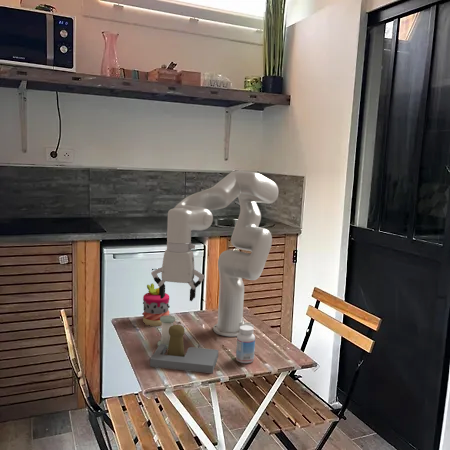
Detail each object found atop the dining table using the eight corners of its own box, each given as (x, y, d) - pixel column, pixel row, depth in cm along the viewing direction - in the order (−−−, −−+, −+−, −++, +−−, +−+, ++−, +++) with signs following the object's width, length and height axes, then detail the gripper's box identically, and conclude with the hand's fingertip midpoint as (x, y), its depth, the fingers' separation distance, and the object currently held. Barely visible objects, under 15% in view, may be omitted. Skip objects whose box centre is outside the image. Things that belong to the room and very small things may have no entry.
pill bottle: (255, 357, 155) (257, 326, 153) (250, 365, 149) (253, 332, 147) (238, 354, 157) (240, 323, 155) (233, 361, 151) (235, 329, 149)
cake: (171, 318, 188) (172, 282, 185) (165, 327, 177) (166, 290, 175) (146, 316, 189) (147, 280, 186) (139, 325, 178) (139, 288, 176)
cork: (181, 362, 148) (182, 330, 147) (163, 360, 149) (164, 328, 148) (187, 355, 154) (188, 323, 152) (169, 352, 155) (171, 321, 154)
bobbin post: (177, 342, 164) (178, 315, 162) (173, 349, 158) (174, 322, 156) (160, 340, 165) (161, 314, 163) (155, 348, 158) (156, 320, 157)
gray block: (218, 356, 154) (218, 349, 154) (212, 373, 142) (212, 365, 142) (160, 350, 156) (160, 343, 156) (150, 366, 144) (150, 359, 144)
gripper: (207, 246, 149) (205, 297, 152) (155, 243, 151) (154, 293, 154) (203, 251, 141) (201, 304, 144) (149, 247, 144) (147, 300, 146)
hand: (177, 298), depth 149 cm, fingers open, 9 cm apart
